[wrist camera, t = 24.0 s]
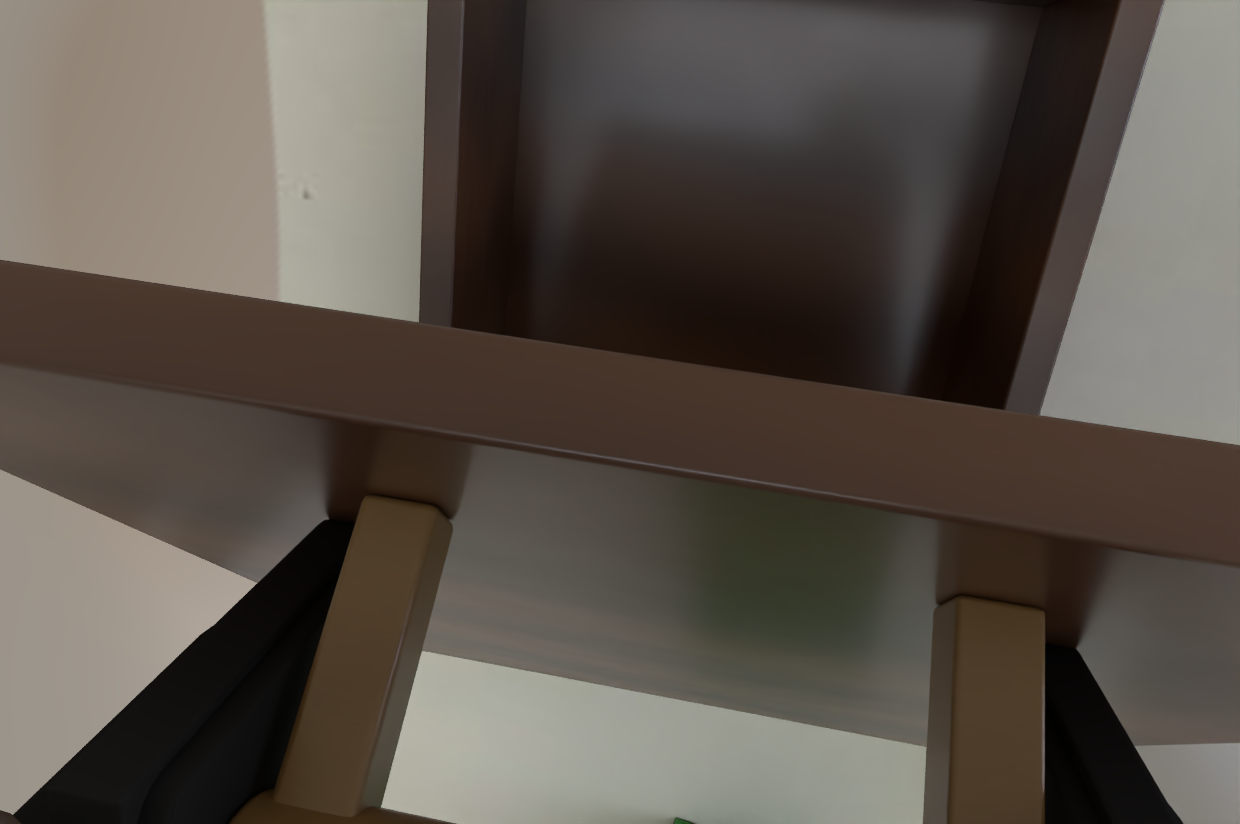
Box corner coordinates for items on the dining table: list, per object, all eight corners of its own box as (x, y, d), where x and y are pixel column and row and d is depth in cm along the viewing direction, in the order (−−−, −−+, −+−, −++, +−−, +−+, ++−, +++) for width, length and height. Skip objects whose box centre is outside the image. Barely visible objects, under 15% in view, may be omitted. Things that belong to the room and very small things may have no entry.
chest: (509, -78, 25) (430, -135, 19) (1076, -22, 23) (1186, -65, 17) (475, 526, 32) (410, 624, 26) (909, 602, 30) (946, 725, 24)
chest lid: (-326, 208, 6) (-861, 971, 5) (2114, 571, 5) (2756, 1968, 3) (408, 619, 26) (359, 800, 24) (950, 721, 24) (942, 923, 22)
